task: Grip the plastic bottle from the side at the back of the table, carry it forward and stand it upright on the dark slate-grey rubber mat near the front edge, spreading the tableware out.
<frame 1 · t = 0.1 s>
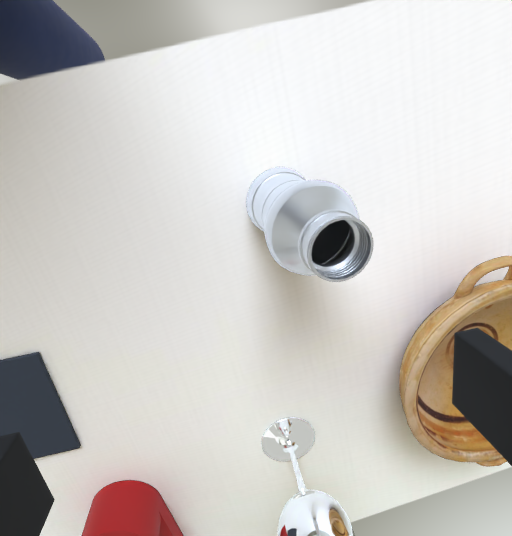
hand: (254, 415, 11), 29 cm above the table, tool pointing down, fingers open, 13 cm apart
ceramic bowl: (458, 343, 48), on the table
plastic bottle: (273, 197, 38), on the table
mat: (18, 410, 42), on the table
wineglass: (287, 437, 49), on the table
lever: (147, 521, 50), on the table
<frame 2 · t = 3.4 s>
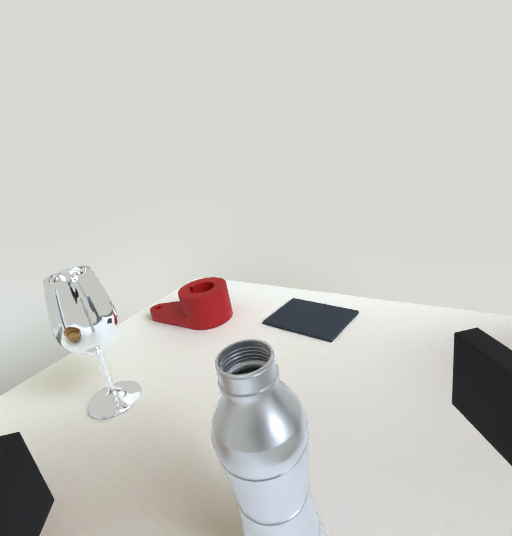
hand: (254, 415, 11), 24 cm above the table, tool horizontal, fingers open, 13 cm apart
mat: (310, 318, 63), on the table
wineglass: (116, 400, 51), on the table
lever: (191, 317, 72), on the table
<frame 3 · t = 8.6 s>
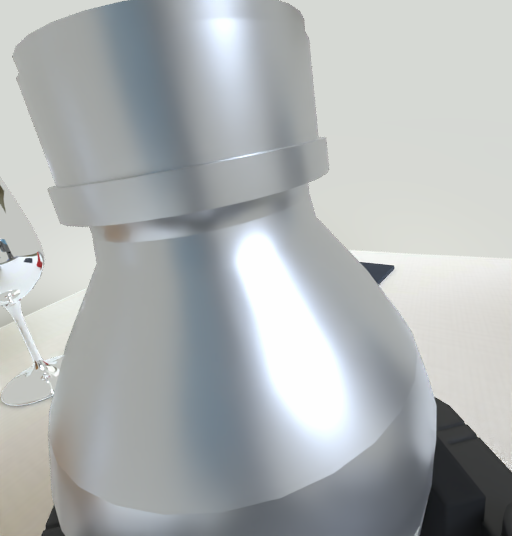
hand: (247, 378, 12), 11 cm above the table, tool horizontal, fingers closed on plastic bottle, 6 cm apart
mat: (327, 277, 47), on the table
wineglass: (47, 381, 35), on the table
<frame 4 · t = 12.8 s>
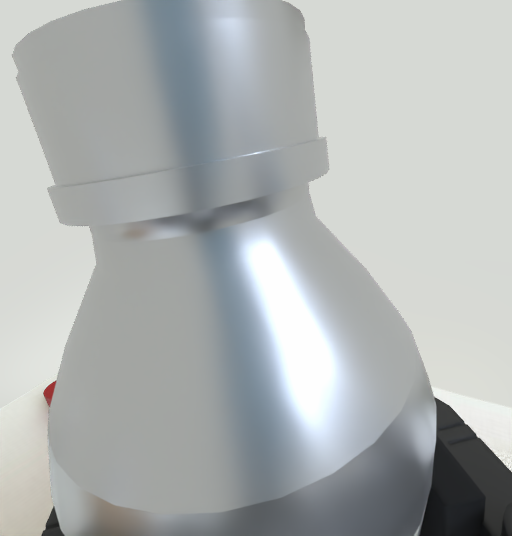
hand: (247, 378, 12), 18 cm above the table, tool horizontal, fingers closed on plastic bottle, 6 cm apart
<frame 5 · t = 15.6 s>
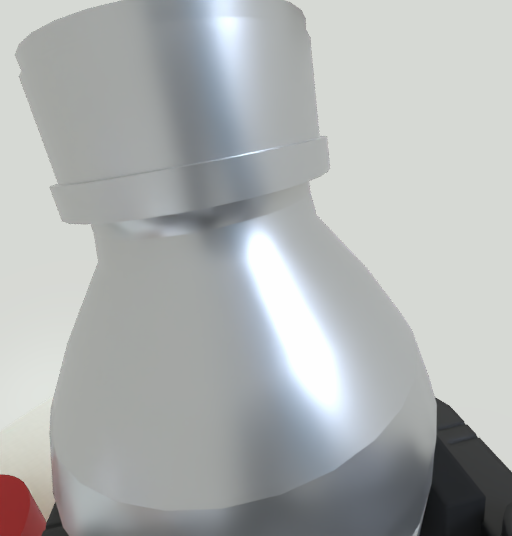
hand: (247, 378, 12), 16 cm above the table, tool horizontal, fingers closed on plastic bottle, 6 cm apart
when the fingers open (12 cm above the table, at t = 17.3 s): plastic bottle stays where it is, resting on mat.
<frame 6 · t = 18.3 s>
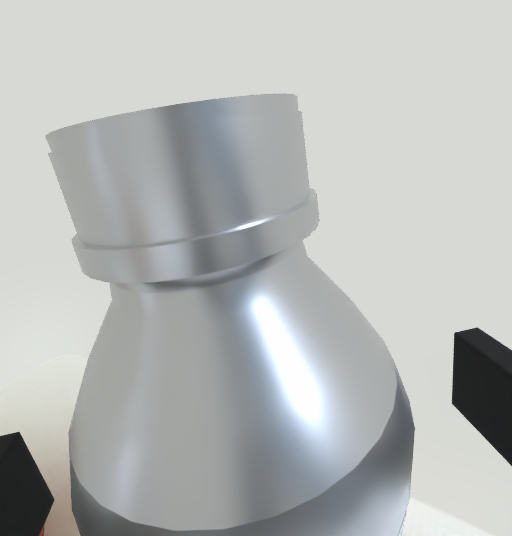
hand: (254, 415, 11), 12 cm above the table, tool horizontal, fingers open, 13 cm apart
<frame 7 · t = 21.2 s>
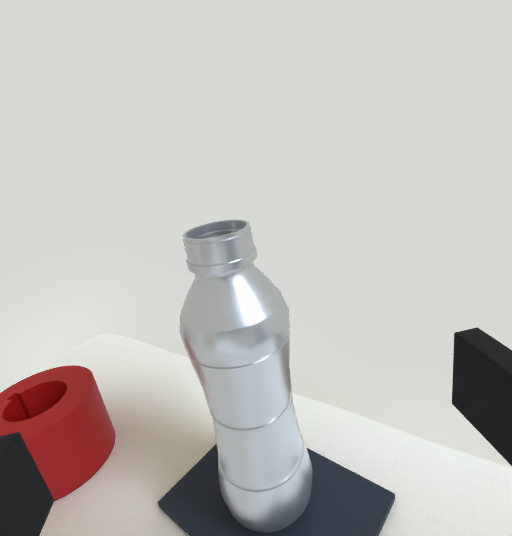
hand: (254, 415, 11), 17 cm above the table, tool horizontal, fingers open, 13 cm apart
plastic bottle: (271, 499, 25), resting on mat
mat: (272, 502, 25), on the table
lever: (30, 451, 34), on the table
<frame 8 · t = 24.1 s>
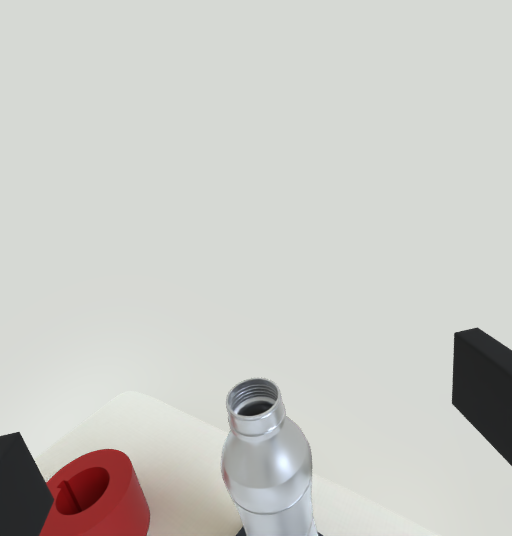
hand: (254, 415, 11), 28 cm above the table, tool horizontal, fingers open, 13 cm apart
lever: (74, 526, 38), on the table
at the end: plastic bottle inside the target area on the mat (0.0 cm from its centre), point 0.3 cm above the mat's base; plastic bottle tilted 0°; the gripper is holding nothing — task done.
